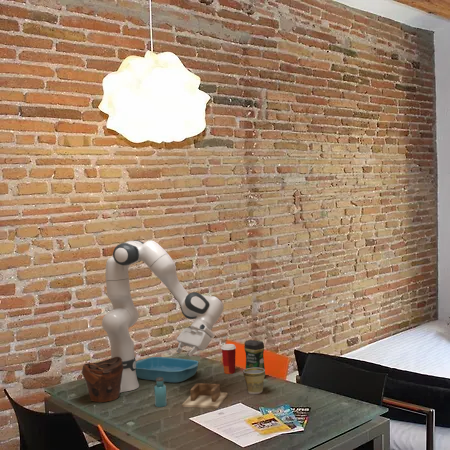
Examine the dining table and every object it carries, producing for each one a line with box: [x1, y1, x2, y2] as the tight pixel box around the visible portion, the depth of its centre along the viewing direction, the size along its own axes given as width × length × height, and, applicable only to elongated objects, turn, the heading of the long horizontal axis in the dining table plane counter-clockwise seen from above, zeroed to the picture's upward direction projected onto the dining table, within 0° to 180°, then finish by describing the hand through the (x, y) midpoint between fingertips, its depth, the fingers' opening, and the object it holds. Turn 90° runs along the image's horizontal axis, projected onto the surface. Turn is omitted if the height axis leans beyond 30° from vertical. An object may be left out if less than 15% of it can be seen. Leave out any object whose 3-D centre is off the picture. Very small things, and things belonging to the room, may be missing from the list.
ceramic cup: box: [242, 368, 266, 395], centre depth 283 cm, size 13×10×10 cm
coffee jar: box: [243, 339, 266, 378], centre depth 304 cm, size 10×8×19 cm
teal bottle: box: [153, 377, 168, 408], centre depth 269 cm, size 5×5×12 cm
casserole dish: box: [136, 356, 199, 384], centre depth 314 cm, size 37×22×7 cm, turn 61°
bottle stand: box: [181, 382, 229, 409], centre depth 272 cm, size 16×18×6 cm
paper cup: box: [220, 343, 237, 375], centre depth 315 cm, size 8×8×14 cm
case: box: [81, 357, 123, 403], centre depth 282 cm, size 18×20×18 cm
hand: (183, 353), depth 276 cm, fingers open, 8 cm apart
